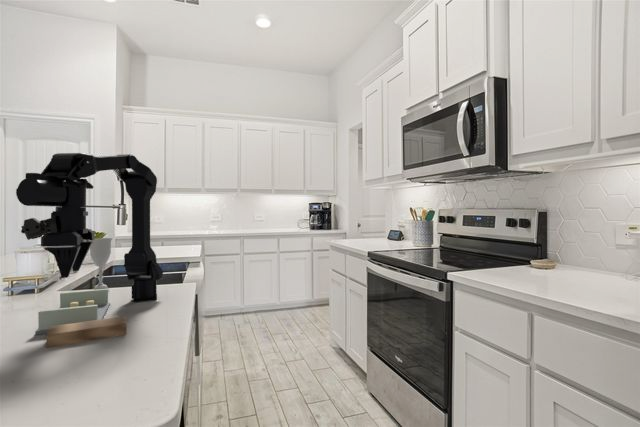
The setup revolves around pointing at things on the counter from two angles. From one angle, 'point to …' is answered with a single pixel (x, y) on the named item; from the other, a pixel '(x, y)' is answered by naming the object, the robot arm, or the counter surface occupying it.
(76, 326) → the shelf board
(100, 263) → the chalice
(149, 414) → the counter surface
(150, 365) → the counter surface
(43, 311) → the peg cradle
